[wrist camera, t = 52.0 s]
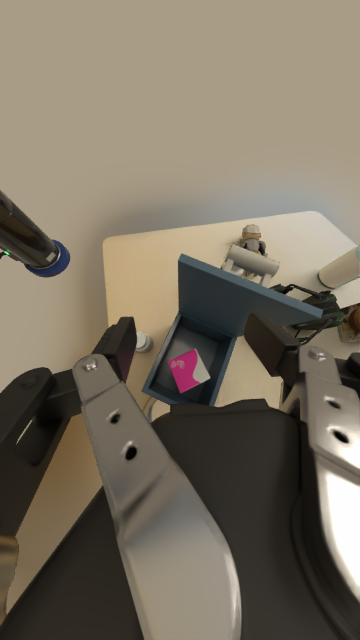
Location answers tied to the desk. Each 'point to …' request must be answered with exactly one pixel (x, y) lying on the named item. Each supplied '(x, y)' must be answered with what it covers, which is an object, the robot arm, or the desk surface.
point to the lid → (236, 293)
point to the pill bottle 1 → (143, 342)
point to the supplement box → (188, 370)
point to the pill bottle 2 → (233, 269)
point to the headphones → (321, 301)
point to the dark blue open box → (212, 352)
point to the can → (342, 269)
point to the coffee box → (350, 324)
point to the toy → (253, 241)
